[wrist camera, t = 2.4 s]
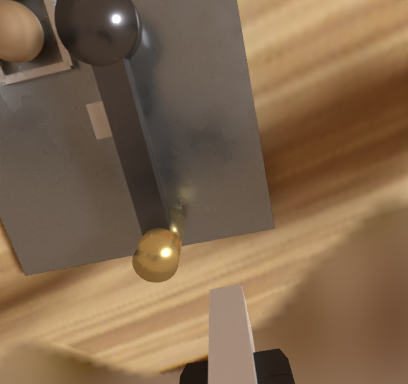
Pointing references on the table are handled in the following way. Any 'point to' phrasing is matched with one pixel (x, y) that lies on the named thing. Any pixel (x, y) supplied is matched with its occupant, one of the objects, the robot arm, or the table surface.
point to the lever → (124, 121)
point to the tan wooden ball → (19, 33)
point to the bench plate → (105, 148)
